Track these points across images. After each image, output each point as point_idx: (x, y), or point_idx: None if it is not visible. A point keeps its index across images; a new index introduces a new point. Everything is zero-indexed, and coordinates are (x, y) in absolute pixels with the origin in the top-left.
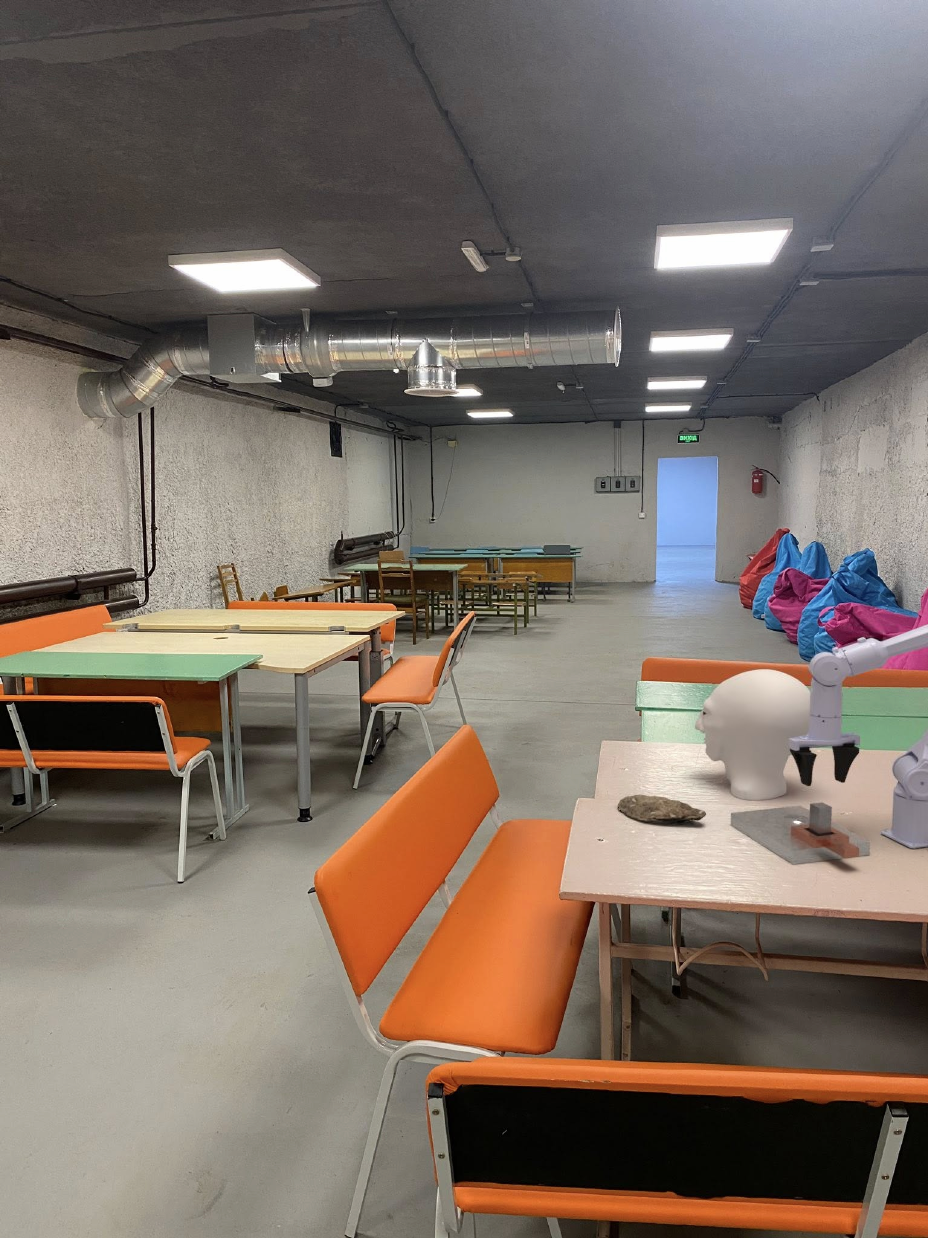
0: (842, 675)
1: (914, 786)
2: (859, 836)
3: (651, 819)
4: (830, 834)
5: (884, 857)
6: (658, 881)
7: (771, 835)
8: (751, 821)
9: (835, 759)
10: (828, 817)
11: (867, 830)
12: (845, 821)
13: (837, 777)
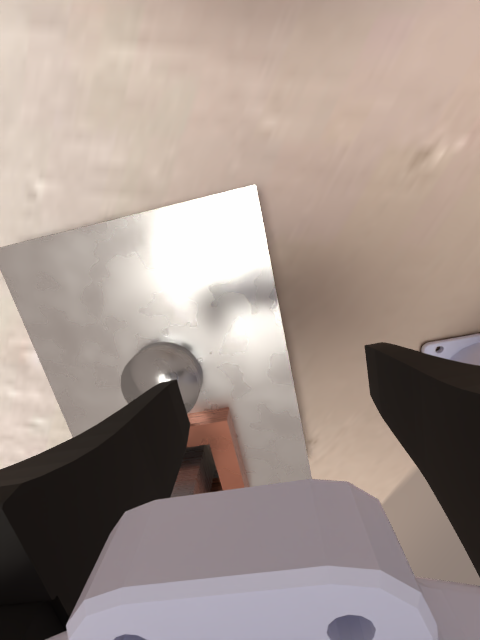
0: None
1: None
2: (304, 452)
3: None
4: (211, 485)
5: (332, 468)
6: None
7: (77, 428)
8: (44, 328)
9: (434, 393)
10: None
11: (404, 313)
12: (385, 235)
13: (373, 371)
